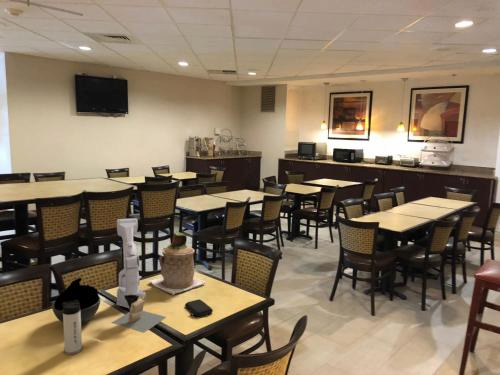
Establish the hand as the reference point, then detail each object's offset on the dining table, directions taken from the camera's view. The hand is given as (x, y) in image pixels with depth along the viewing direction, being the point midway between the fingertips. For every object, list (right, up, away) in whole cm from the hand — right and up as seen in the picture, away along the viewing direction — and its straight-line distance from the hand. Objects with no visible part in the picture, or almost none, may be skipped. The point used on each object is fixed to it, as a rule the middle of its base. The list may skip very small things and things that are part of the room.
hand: (132, 309), depth 176 cm
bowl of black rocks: (-24, -5, -2) cm, 25 cm away
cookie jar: (+13, 0, +44) cm, 46 cm away
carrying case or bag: (+29, -5, +12) cm, 32 cm away
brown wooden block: (+1, -5, 0) cm, 5 cm away
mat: (+3, -6, 0) cm, 6 cm away
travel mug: (-16, -9, -25) cm, 31 cm away
